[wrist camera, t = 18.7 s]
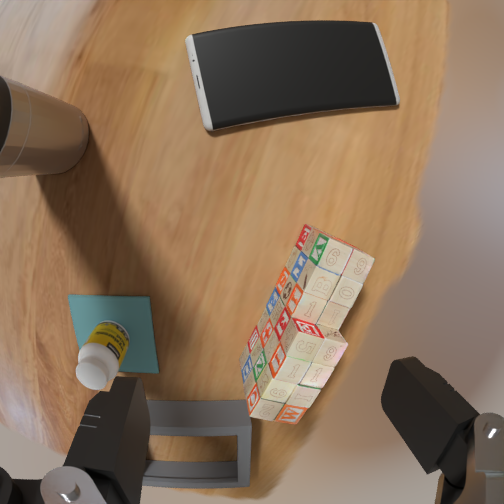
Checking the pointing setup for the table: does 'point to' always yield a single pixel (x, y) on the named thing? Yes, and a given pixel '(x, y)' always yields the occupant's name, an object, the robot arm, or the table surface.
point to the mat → (127, 315)
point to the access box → (200, 424)
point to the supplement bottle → (102, 354)
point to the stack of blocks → (302, 327)
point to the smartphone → (288, 70)
